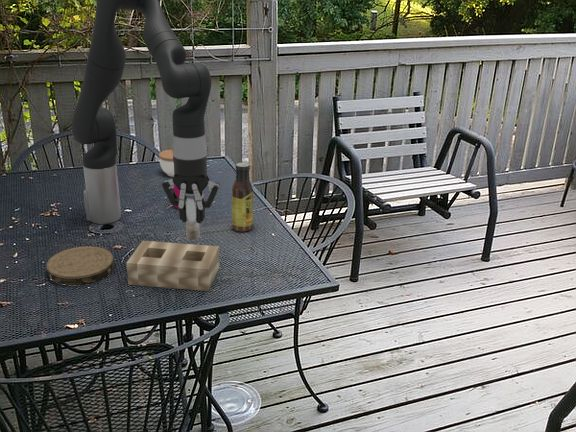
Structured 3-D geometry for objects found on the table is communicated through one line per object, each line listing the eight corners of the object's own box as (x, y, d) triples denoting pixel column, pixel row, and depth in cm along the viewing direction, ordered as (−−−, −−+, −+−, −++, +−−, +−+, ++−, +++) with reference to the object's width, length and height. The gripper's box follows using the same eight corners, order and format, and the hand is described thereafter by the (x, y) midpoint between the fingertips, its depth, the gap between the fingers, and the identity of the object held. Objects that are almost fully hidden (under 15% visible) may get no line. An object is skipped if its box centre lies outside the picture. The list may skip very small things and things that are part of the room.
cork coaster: (91, 250, 157) (90, 240, 156) (126, 270, 148) (126, 260, 147) (35, 271, 146) (34, 261, 145) (70, 294, 137) (69, 284, 136)
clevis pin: (182, 240, 139) (180, 193, 134) (186, 232, 143) (184, 187, 138) (199, 241, 139) (197, 195, 134) (203, 233, 143) (202, 188, 138)
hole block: (128, 284, 141) (126, 263, 139) (144, 260, 152) (142, 240, 150) (209, 291, 140) (208, 269, 137) (219, 266, 151) (218, 246, 148)
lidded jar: (160, 179, 206) (158, 154, 202) (160, 169, 216) (158, 145, 212) (190, 178, 208) (189, 153, 205) (189, 168, 218) (188, 144, 214)
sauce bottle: (249, 233, 169) (250, 169, 161) (229, 231, 170) (228, 167, 162) (255, 224, 175) (256, 162, 167) (235, 222, 176) (235, 160, 168)
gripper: (154, 156, 129) (159, 226, 137) (216, 160, 128) (218, 230, 136) (164, 146, 136) (168, 213, 143) (223, 150, 135) (224, 217, 142)
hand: (192, 221), depth 139 cm, fingers closed on clevis pin, 3 cm apart
